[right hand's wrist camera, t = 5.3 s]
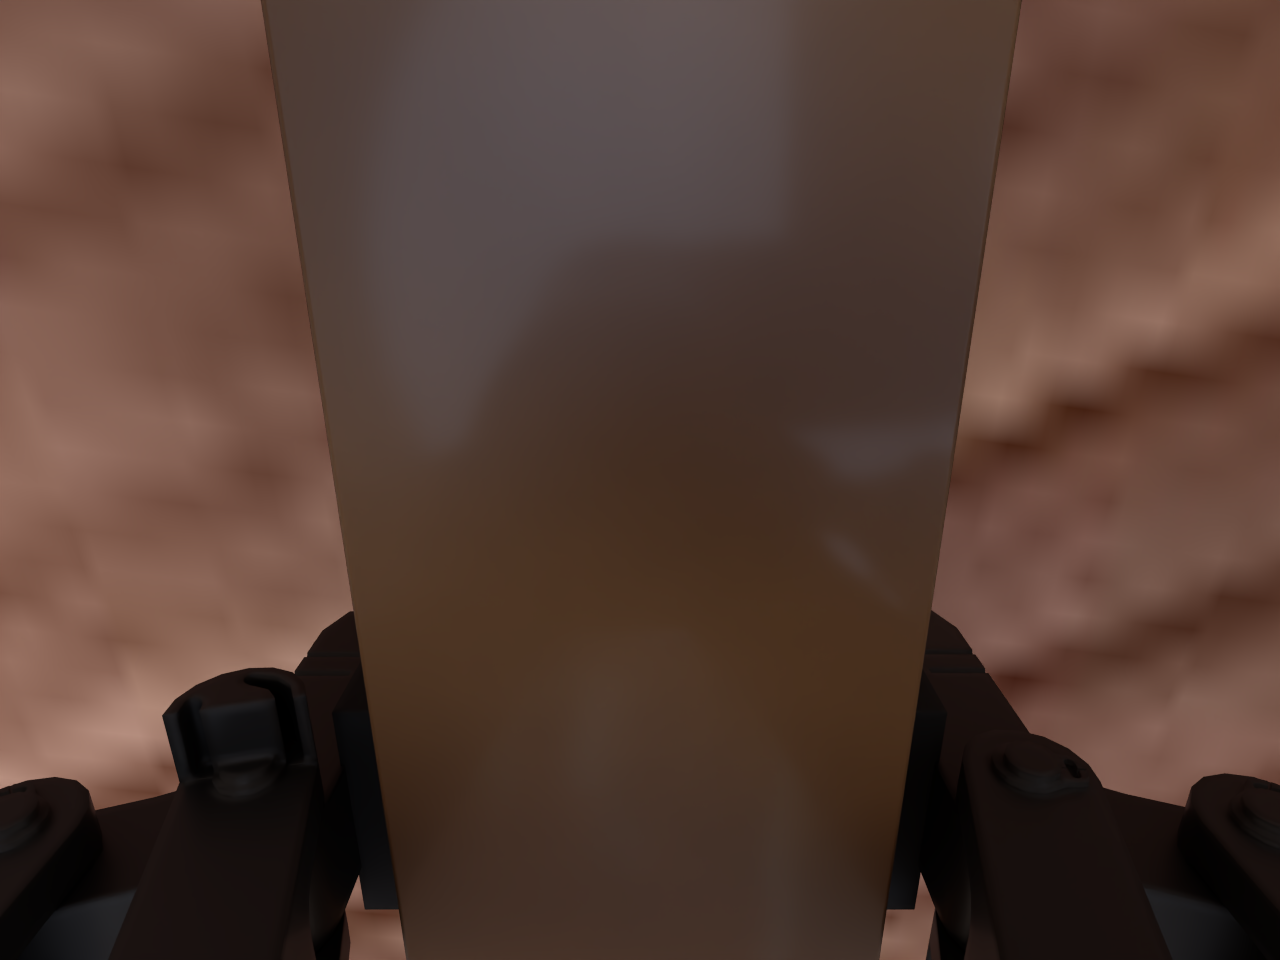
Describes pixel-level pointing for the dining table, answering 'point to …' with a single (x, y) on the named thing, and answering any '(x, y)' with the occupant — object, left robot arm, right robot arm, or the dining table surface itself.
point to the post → (641, 442)
